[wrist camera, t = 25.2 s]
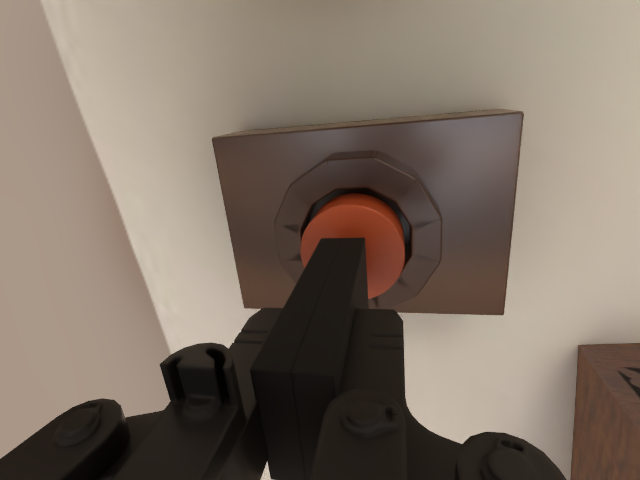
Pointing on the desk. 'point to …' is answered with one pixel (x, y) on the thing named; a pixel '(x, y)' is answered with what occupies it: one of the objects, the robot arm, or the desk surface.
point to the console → (390, 187)
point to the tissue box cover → (607, 413)
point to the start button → (361, 235)
